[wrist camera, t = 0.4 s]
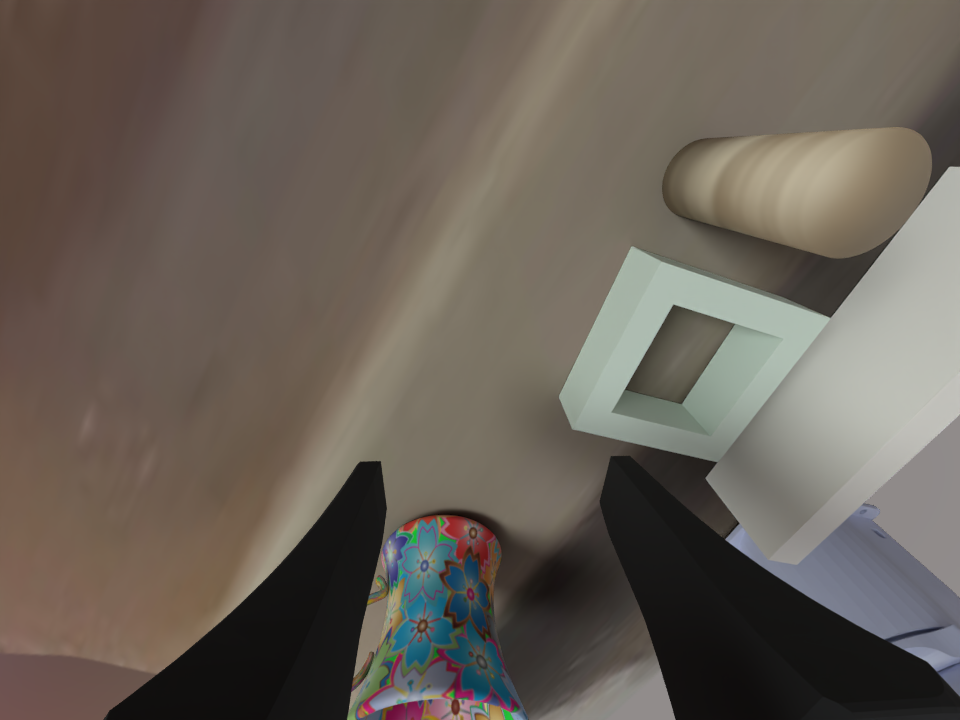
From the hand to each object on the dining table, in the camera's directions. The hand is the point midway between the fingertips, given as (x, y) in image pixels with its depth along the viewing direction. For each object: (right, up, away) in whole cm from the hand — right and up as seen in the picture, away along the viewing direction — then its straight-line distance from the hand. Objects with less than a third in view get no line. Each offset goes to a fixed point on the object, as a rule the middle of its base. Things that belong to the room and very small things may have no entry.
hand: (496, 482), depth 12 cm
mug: (-5, -9, +16) cm, 19 cm away
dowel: (+9, +12, +5) cm, 16 cm away
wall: (+19, +4, +10) cm, 22 cm away
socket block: (+10, +4, +9) cm, 14 cm away
